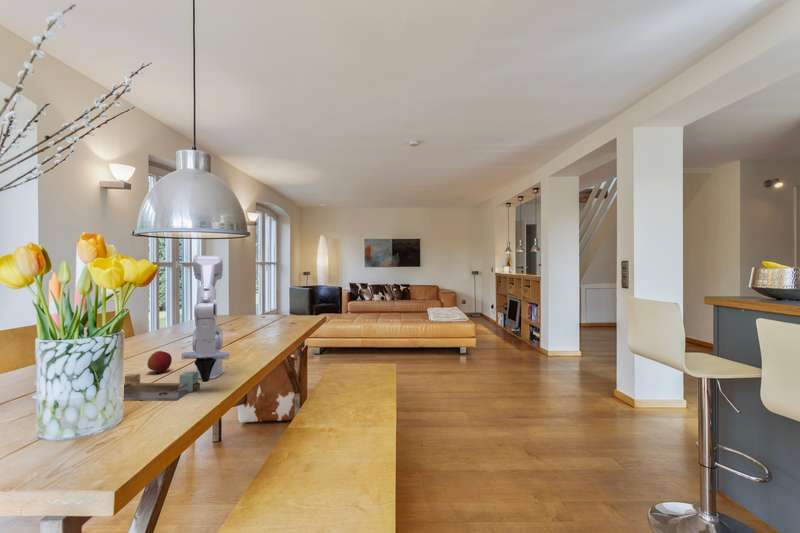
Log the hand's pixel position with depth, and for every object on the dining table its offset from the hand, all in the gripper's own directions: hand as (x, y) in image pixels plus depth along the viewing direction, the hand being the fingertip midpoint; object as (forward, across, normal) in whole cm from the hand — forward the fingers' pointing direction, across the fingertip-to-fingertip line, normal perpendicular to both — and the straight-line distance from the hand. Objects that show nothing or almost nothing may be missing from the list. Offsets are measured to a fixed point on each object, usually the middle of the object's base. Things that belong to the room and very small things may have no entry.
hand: (205, 381), depth 131 cm
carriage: (+3, -5, -2) cm, 6 cm away
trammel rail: (+3, -14, -2) cm, 15 cm away
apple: (+3, -26, +21) cm, 34 cm away
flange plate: (+3, -15, -6) cm, 17 cm away
